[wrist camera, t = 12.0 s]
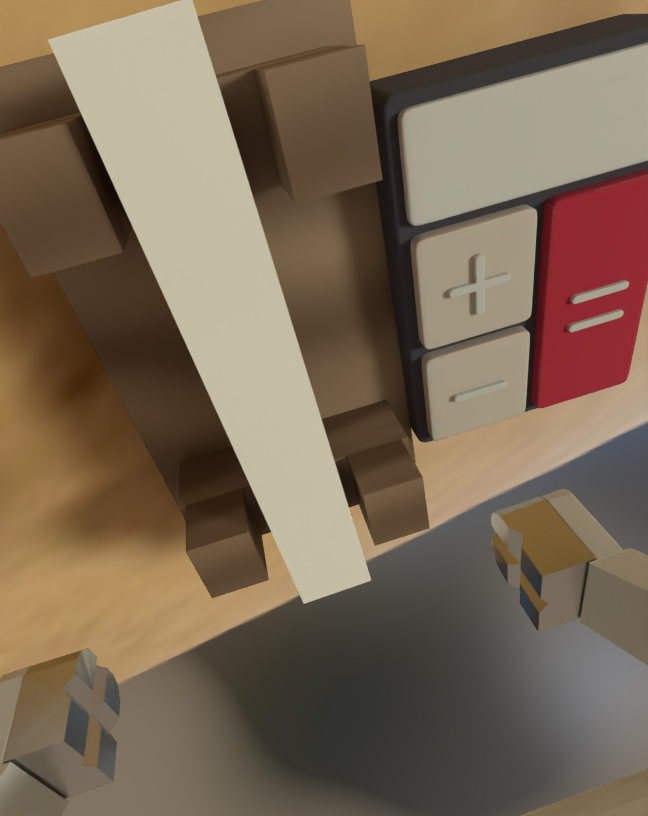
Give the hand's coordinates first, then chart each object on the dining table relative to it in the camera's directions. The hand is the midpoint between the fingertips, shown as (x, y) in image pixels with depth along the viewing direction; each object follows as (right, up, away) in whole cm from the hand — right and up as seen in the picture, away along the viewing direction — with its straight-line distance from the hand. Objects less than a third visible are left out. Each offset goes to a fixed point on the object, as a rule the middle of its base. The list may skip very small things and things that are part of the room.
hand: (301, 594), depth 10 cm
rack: (-3, +8, +12) cm, 15 cm away
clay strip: (-2, +5, +8) cm, 10 cm away
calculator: (+8, +11, +14) cm, 19 cm away
